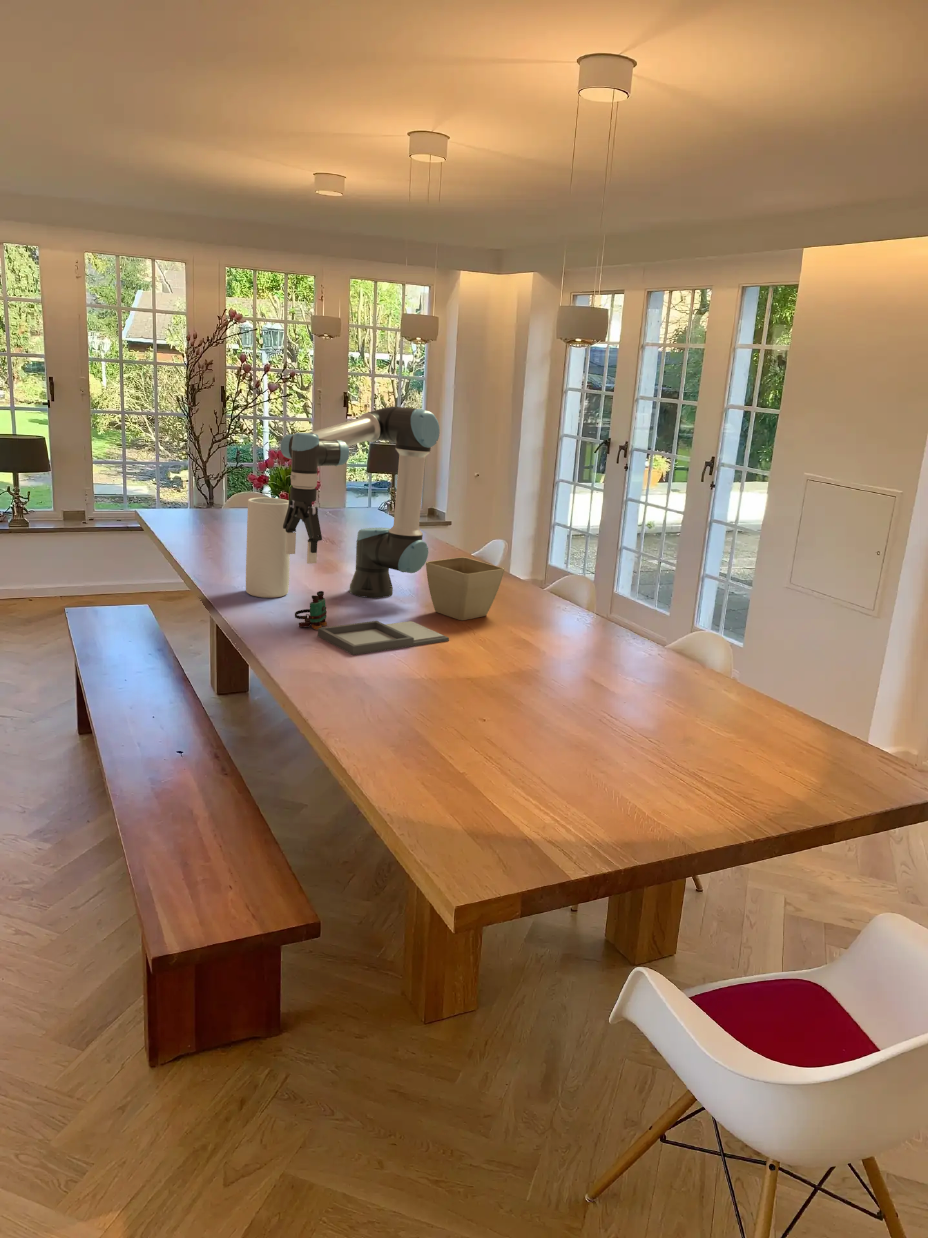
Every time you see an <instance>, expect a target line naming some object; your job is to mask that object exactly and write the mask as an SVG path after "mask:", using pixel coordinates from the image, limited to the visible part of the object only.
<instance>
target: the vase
mask: <svg viewBox="0 0 928 1238" xmlns="http://www.w3.org/2000/svg"><path fill="white" fill-rule="evenodd" d="M288 505H289V500H287V499H284V498H277V497H275V498H274V497H251V498H248V499H247V516H246V517H247V519H246V520H247V522H246V554H245V556H246V557H245V558H246V559H245V561H246V562H245V591H246V593H247V594H249V595H250V596H252V597H256V598H264V599H268V598H269V599H271V598H275V599H276V598H281V597H284V596H287V595H288V593H289V591H290V590H289V587H290V586H289V585H290V561H291V560H290V559H291V558H290V557H291V554H286V539H287V532H286V529H283V524H284V520H285V517H286V513H287V510H288ZM287 525H288V524H287Z"/></svg>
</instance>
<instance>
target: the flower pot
mask: <svg viewBox="0 0 928 1238" xmlns="http://www.w3.org/2000/svg"><path fill="white" fill-rule="evenodd" d="M425 567H426V577H427V584H428V589H429V594H430V598H431V601H432V605H433V606H432V607H433V609H434V612H436V613H437V614H441V615H444V616H446V617H450V618H453V619H455V620H459V621H466V620H472V619H477V618H480V617H486V616H487V615H488V613H489V612H490V609H491V607H492V605H493V603H494V601H495V599H496V596H497V593H498V591H499V588H500V586H501V583H502V580H503V576H504V572H505V568H504V567H502V566H497V565H496V564H495V565H494V564H491V563H487V562H485V561H480V560H477V559H473V558H470V557H466V556H460V557H454V558H444V559H437V560H430V561H426V562H425Z"/></svg>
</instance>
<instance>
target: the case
mask: <svg viewBox="0 0 928 1238" xmlns="http://www.w3.org/2000/svg"><path fill="white" fill-rule="evenodd" d="M317 637H319V638H320V639H322V640H324V641H326V642H328V643H329V644H332V645H333V646H335V647H337V648H339V649H340V650H342V651H344V652H347V653H348V654H350V655H352V656H357V655H363V654H370V653H377V652H385V651H390V650H397V649H398V650H399V649H403V648H404V649H405V648H409V647H417V646H424V645H430V644H431V645H432V644H436V643H437V644H438V643H443V642H444V643H445V642H449V640H450V638H449V637H448V636H446V635H444V634H441V633H440V632H437V631H435V630H432V629H430V628H428V627H426V626H424V625H421V624H419V623H417V622H414V621H412V620H407V621H400V622H393V623H384V622H383V623H382V622H381V621H379V620H373V621H365V622H356V623H348V624H342V625H333V626H322V628H318V630H317Z"/></svg>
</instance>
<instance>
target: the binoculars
mask: <svg viewBox="0 0 928 1238" xmlns="http://www.w3.org/2000/svg"><path fill="white" fill-rule="evenodd" d="M324 595H325V591H323V590H320V591H317V592H316V595H311V599H312V601H311V602H309V608H306V609H299V610H297V611H295V612H294V618H295V619H297V620H304V621H303V622H302V621H301V622H298V627H299V628H306V627H311V628H312V629H313V630H316V631H318V628H323V627H328V624H327V623H328V622H327V621H326V618H327V614H328V612H327V606H326V598H324ZM308 613H309V614H308ZM300 614H305V615H300Z"/></svg>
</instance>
